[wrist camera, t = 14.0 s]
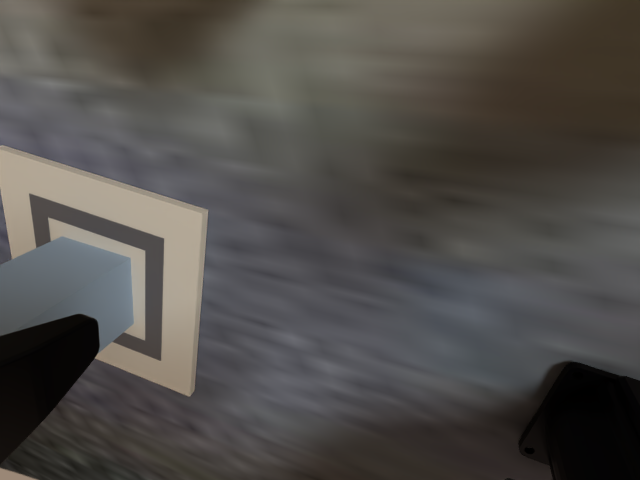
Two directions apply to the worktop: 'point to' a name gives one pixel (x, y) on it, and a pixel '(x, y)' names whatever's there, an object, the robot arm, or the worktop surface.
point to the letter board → (125, 239)
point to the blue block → (67, 288)
